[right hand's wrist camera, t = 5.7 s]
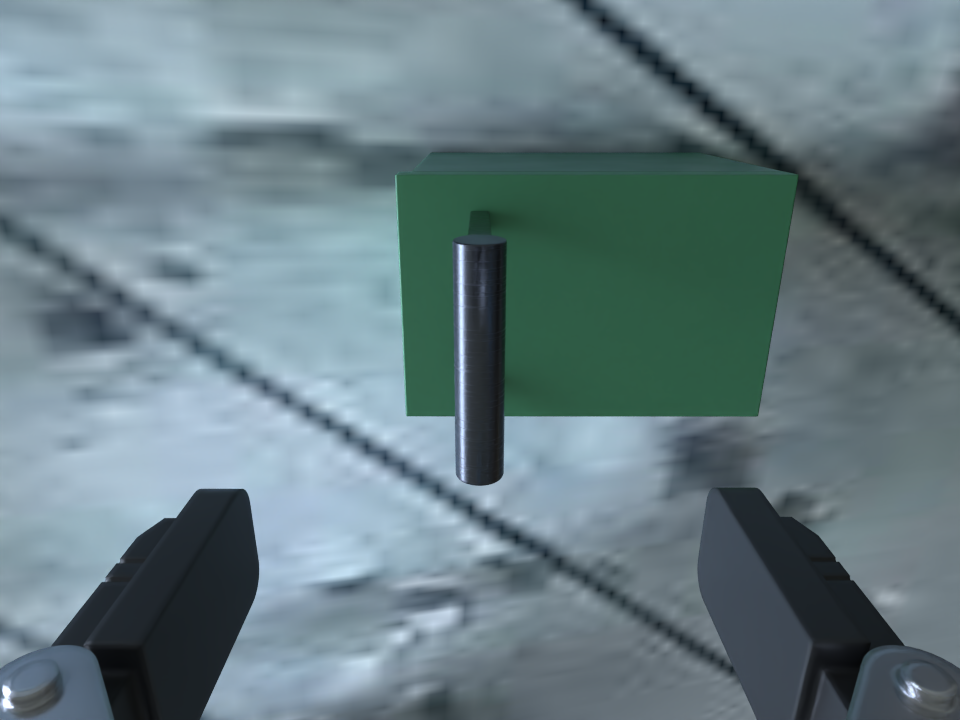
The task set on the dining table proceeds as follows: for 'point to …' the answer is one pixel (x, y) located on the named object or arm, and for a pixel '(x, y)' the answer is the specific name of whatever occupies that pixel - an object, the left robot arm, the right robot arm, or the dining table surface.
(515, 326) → the lid
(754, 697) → the right robot arm
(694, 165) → the chest
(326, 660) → the dining table surface
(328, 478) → the dining table surface
